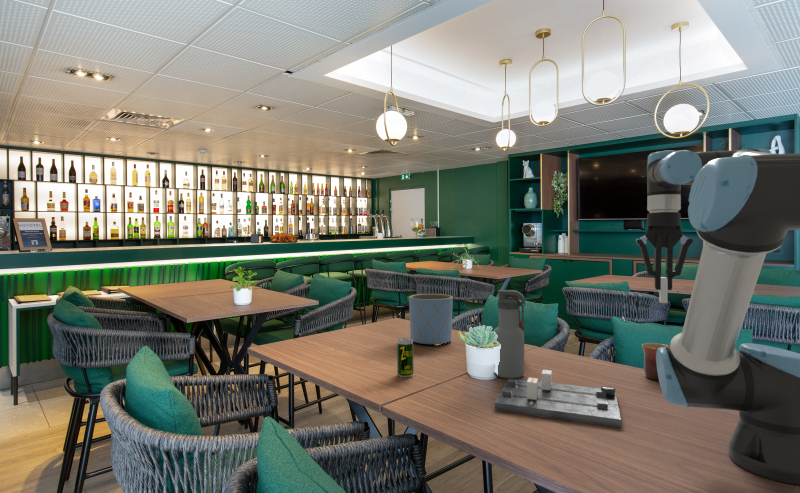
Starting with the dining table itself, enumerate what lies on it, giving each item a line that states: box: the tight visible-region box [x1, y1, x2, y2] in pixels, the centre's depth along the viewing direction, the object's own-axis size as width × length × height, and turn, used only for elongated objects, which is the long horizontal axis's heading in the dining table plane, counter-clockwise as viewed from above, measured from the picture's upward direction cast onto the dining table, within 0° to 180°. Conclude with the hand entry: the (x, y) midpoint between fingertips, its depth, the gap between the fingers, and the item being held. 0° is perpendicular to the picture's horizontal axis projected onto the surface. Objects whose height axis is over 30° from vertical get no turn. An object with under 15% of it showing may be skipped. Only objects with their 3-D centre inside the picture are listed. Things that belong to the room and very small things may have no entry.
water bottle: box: [493, 289, 526, 380], centre depth 147 cm, size 10×10×28 cm
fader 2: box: [541, 369, 553, 390], centre depth 127 cm, size 4×2×5 cm, turn 158°
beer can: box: [396, 337, 415, 378], centre depth 147 cm, size 5×5×12 cm
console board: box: [494, 378, 622, 429], centre depth 122 cm, size 22×30×4 cm
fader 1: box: [527, 377, 539, 400], centre depth 120 cm, size 4×2×5 cm, turn 158°
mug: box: [641, 342, 670, 381], centre depth 141 cm, size 12×9×10 cm
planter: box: [408, 293, 454, 346], centre depth 194 cm, size 19×19×20 cm
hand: (663, 302), depth 116 cm, fingers closed
